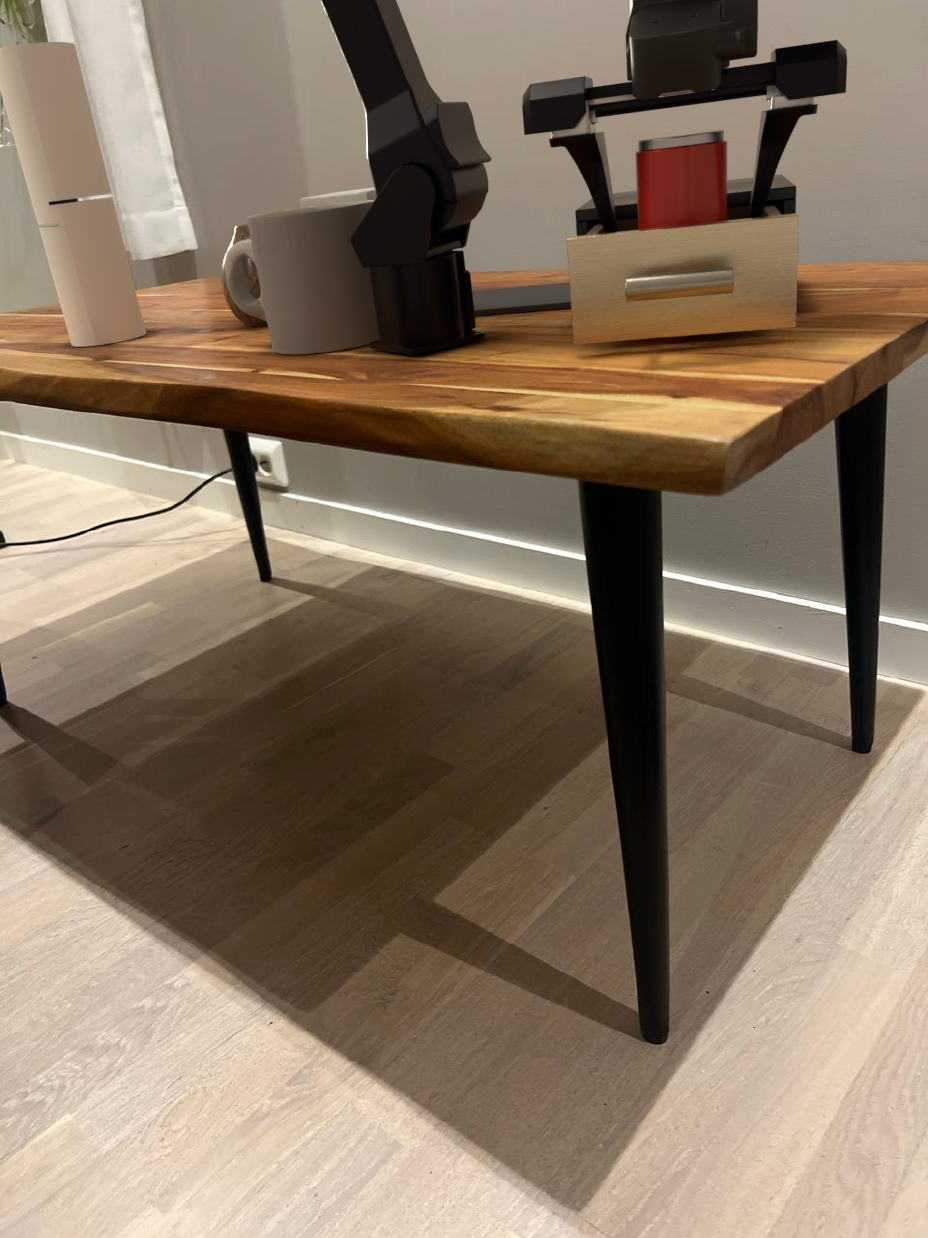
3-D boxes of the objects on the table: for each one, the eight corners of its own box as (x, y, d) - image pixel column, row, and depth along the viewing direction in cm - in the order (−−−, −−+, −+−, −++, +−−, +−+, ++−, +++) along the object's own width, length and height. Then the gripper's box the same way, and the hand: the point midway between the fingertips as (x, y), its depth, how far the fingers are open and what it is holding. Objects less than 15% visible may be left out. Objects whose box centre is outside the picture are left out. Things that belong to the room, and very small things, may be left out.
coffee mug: (417, 327, 82) (399, 196, 77) (346, 353, 74) (322, 210, 70) (292, 330, 88) (269, 209, 84) (215, 355, 81) (186, 224, 77)
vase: (264, 329, 91) (244, 227, 87) (215, 329, 95) (194, 231, 91) (317, 315, 95) (300, 217, 92) (269, 315, 99) (251, 221, 96)
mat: (575, 307, 81) (575, 301, 81) (435, 319, 84) (434, 313, 84) (590, 285, 92) (590, 279, 92) (465, 296, 95) (464, 291, 95)
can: (686, 311, 62) (682, 135, 58) (623, 307, 67) (616, 143, 62) (745, 295, 65) (746, 126, 61) (682, 292, 69) (678, 134, 65)
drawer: (801, 341, 56) (805, 221, 53) (565, 358, 59) (557, 246, 56) (781, 292, 71) (783, 197, 68) (594, 308, 74) (589, 218, 72)
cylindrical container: (132, 341, 94) (56, 38, 83) (60, 349, 95) (-26, 50, 84) (155, 328, 100) (87, 46, 90) (87, 336, 101) (11, 56, 90)
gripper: (493, -35, 53) (520, 271, 59) (868, -101, 48) (852, 239, 55) (526, -12, 62) (546, 249, 69) (840, -65, 58) (830, 220, 65)
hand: (682, 240), depth 64 cm, fingers open, 8 cm apart
